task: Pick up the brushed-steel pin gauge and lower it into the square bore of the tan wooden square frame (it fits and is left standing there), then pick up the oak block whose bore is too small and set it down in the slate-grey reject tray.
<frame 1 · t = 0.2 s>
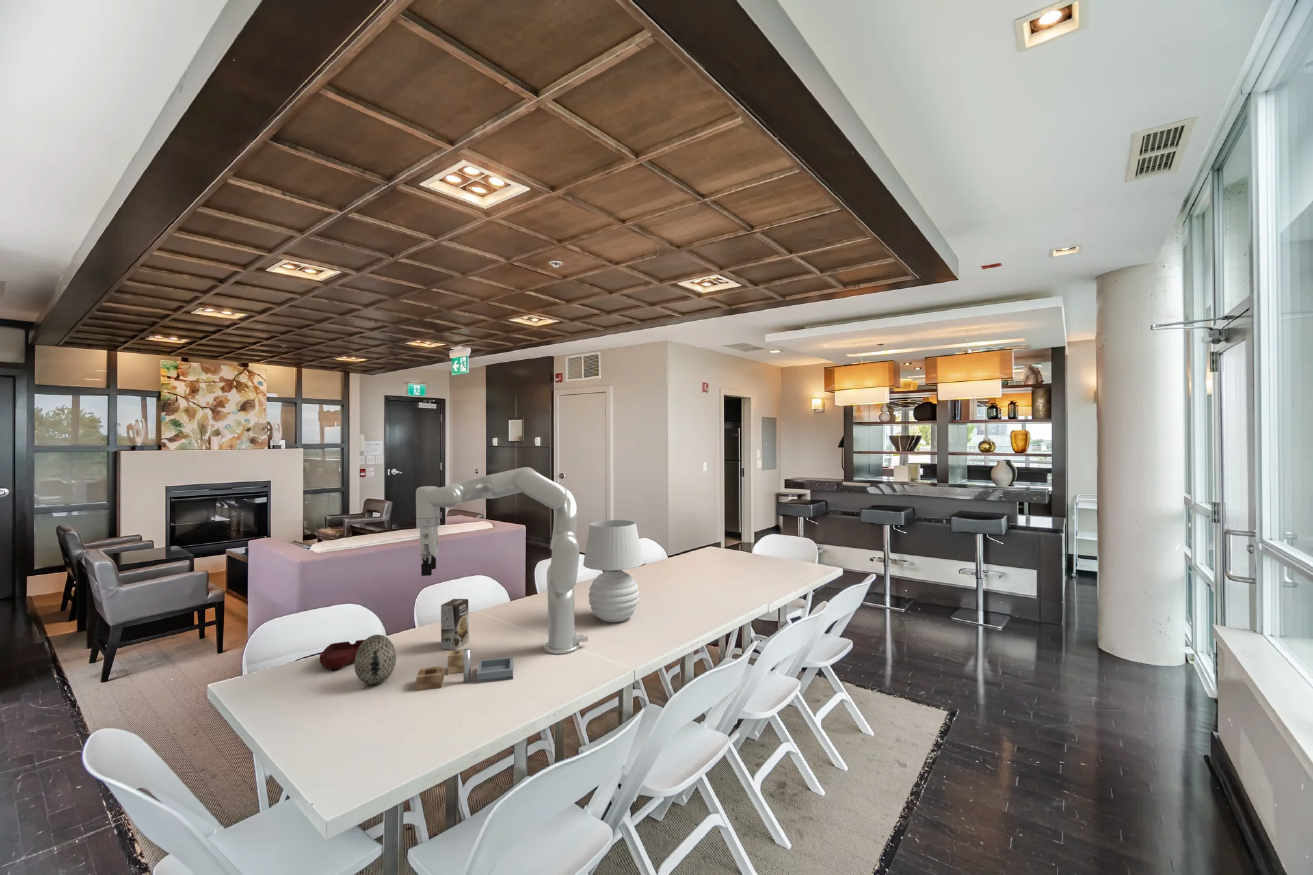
hand: (428, 572, 197), 31 cm above the table, fingers open, 9 cm apart
pin gauge: (467, 681, 181), on the table
oak block: (457, 670, 189), on the table
tan wooden square frame: (430, 684, 179), on the table
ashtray: (344, 661, 200), on the table
reject tray: (495, 674, 186), on the table
coffee box: (455, 645, 213), on the table
table lamp: (614, 618, 241), on the table
decorative egg: (375, 683, 181), on the table
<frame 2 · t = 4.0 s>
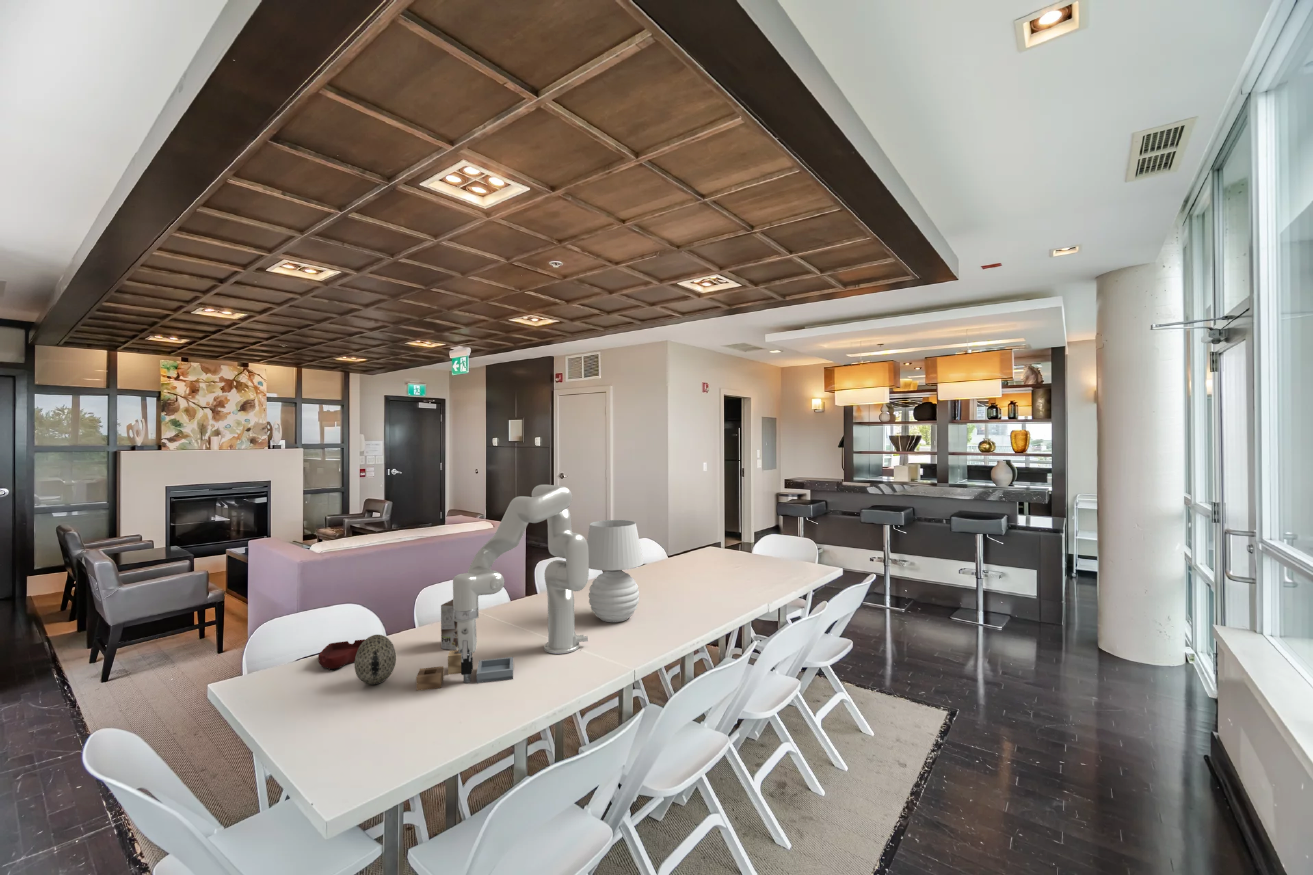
hand: (467, 671, 181), 3 cm above the table, fingers closed on pin gauge, 2 cm apart
pin gauge: (467, 681, 181), on the table, touching gripper
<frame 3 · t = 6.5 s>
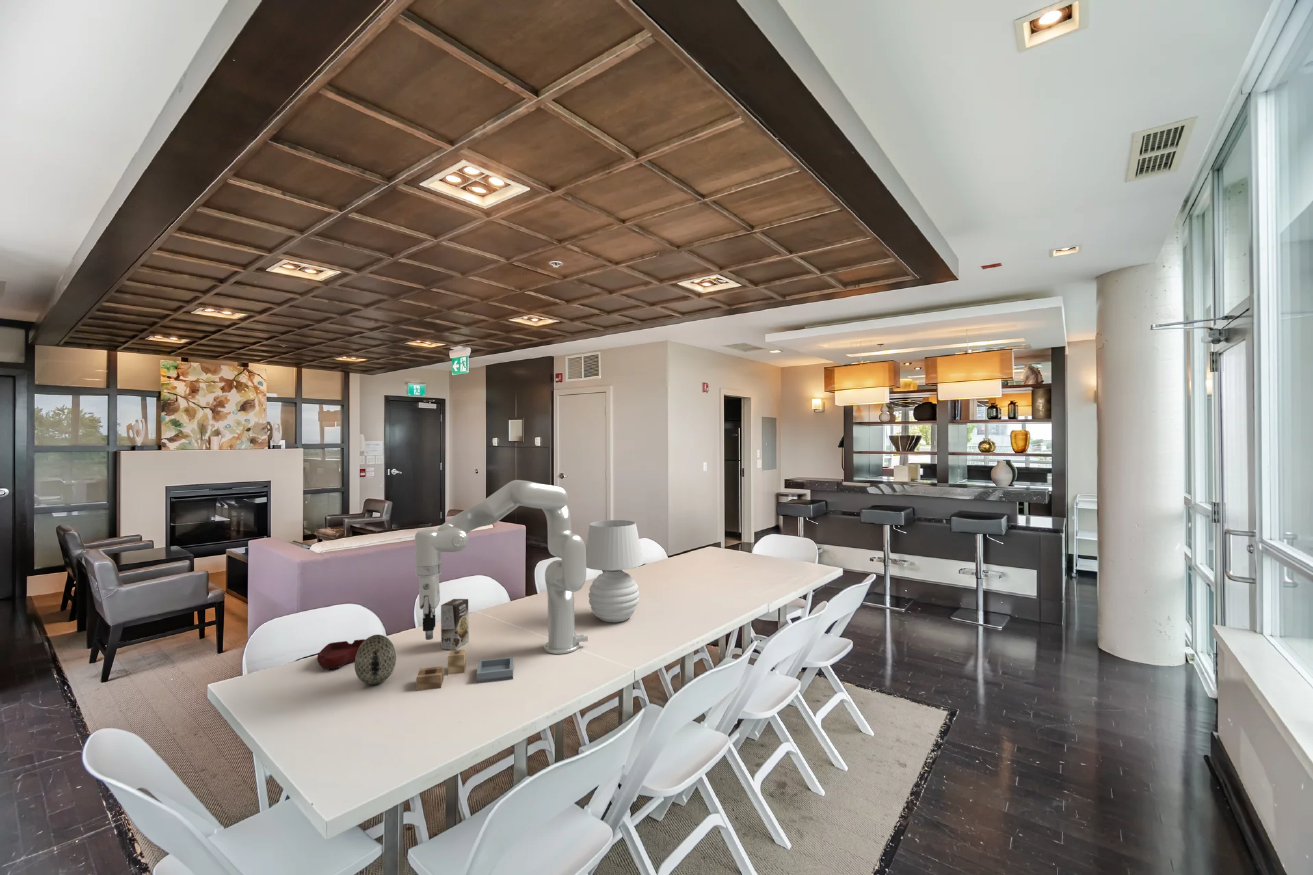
hand: (429, 628, 179), 17 cm above the table, fingers closed on pin gauge
pin gauge: (429, 638, 179), point 14 cm above the table, touching gripper
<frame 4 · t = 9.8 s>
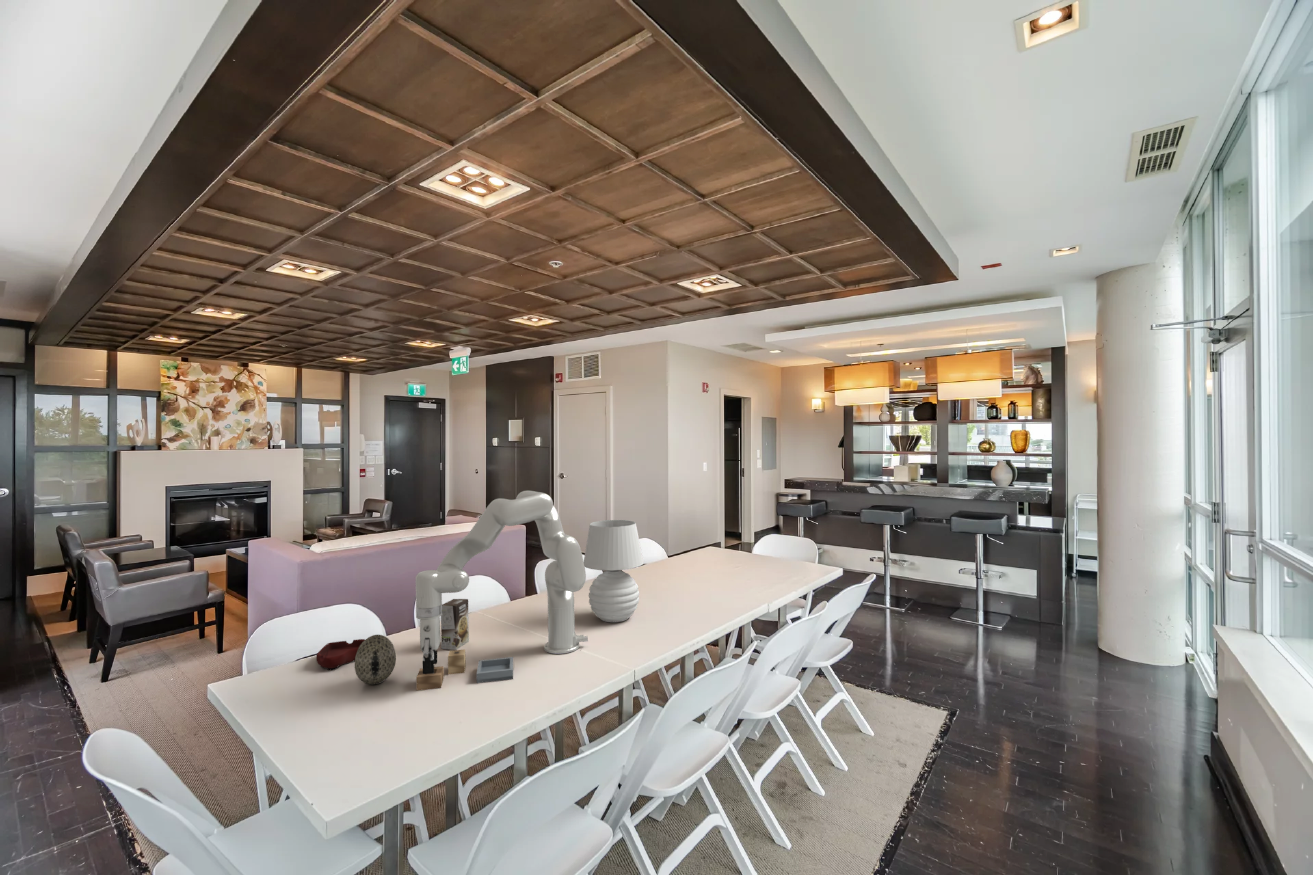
hand: (430, 667, 179), 5 cm above the table, fingers open, 6 cm apart
pin gauge: (430, 684, 179), resting in tan wooden square frame
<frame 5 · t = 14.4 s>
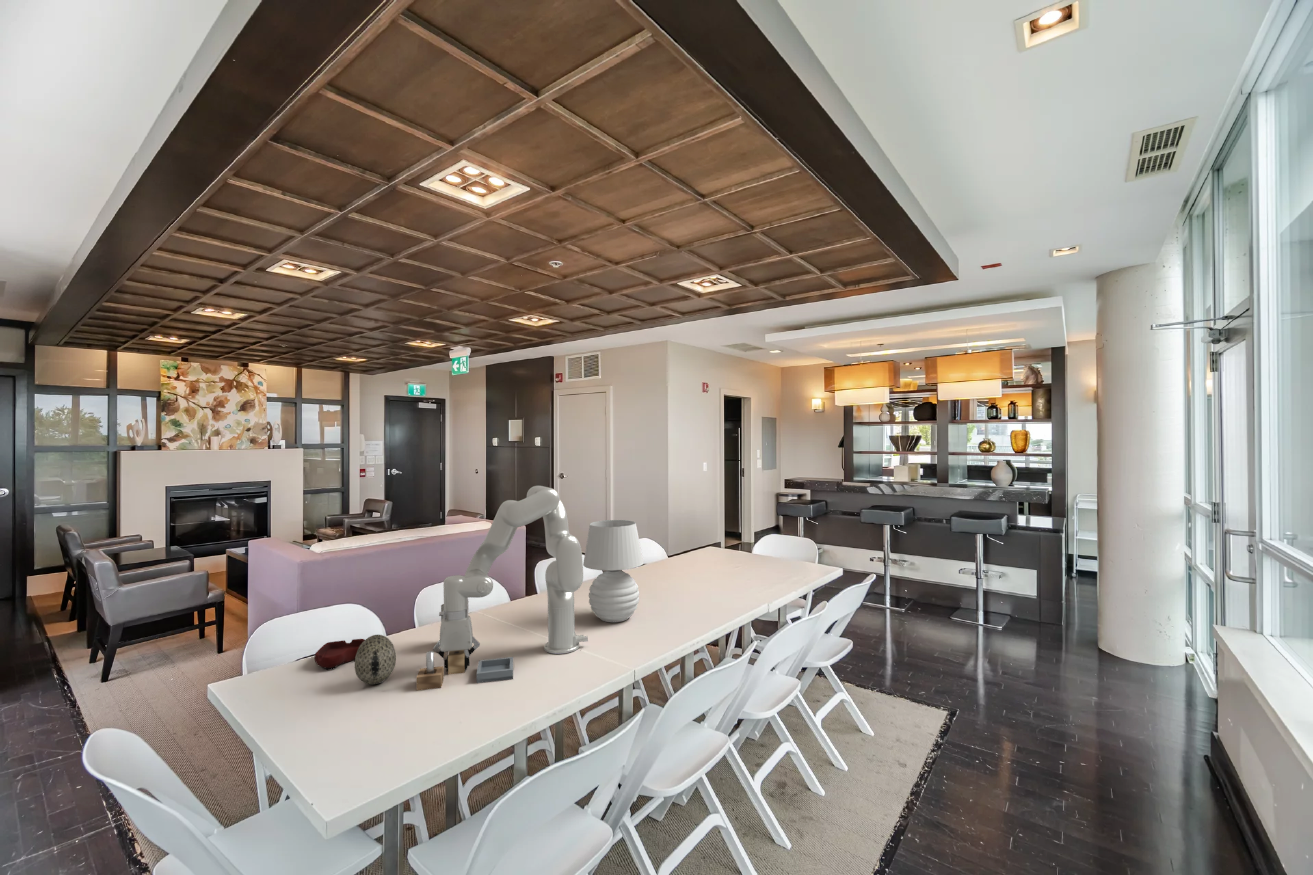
hand: (457, 668, 189), 1 cm above the table, fingers closed on oak block, 5 cm apart
oak block: (457, 670, 189), on the table, touching gripper
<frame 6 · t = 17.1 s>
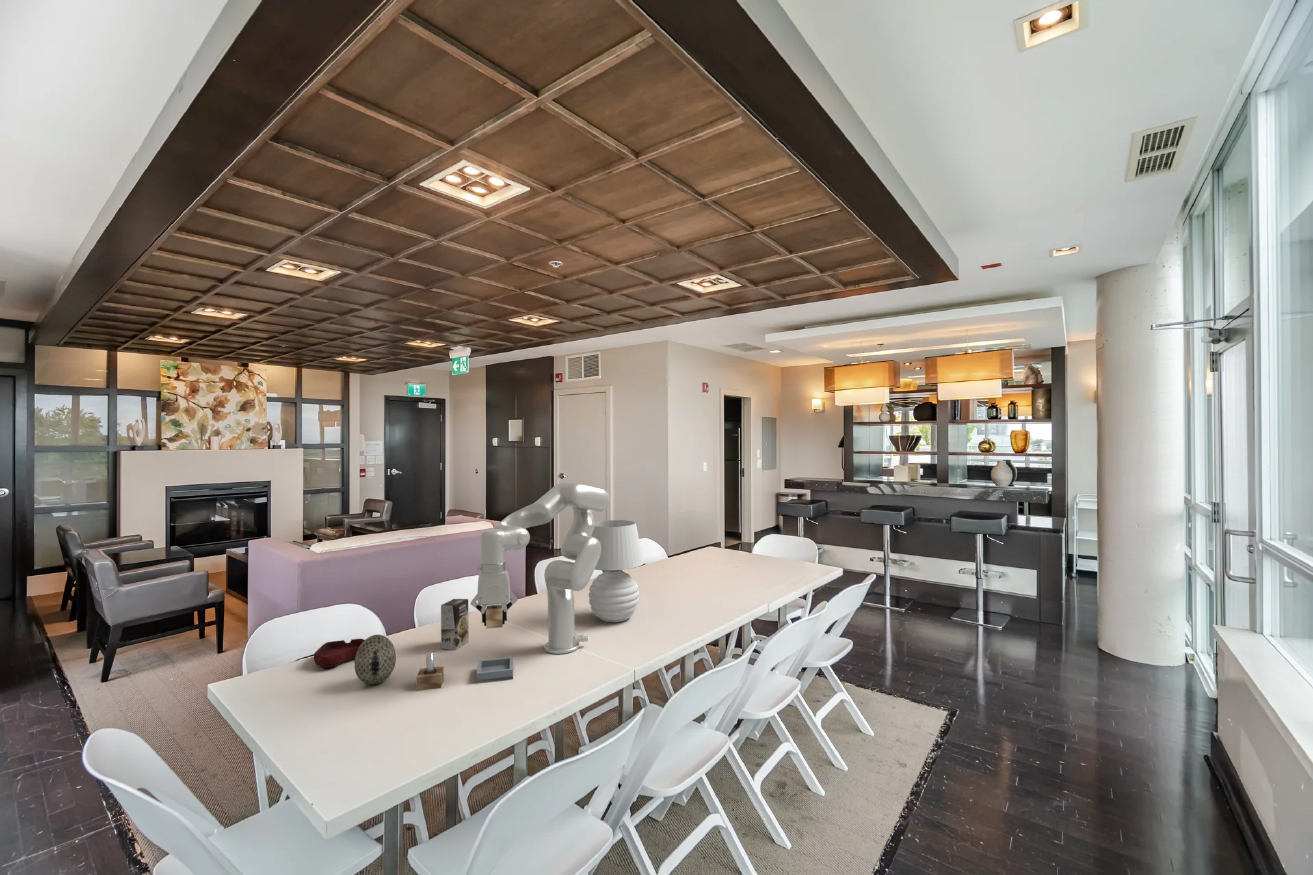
hand: (494, 623, 186), 16 cm above the table, fingers closed on oak block, 5 cm apart
oak block: (494, 625, 186), point 16 cm above the table, touching gripper
when the fingers open (3 cm above the table, at t = 19.8 s): oak block drops 1 cm, resting on reject tray.
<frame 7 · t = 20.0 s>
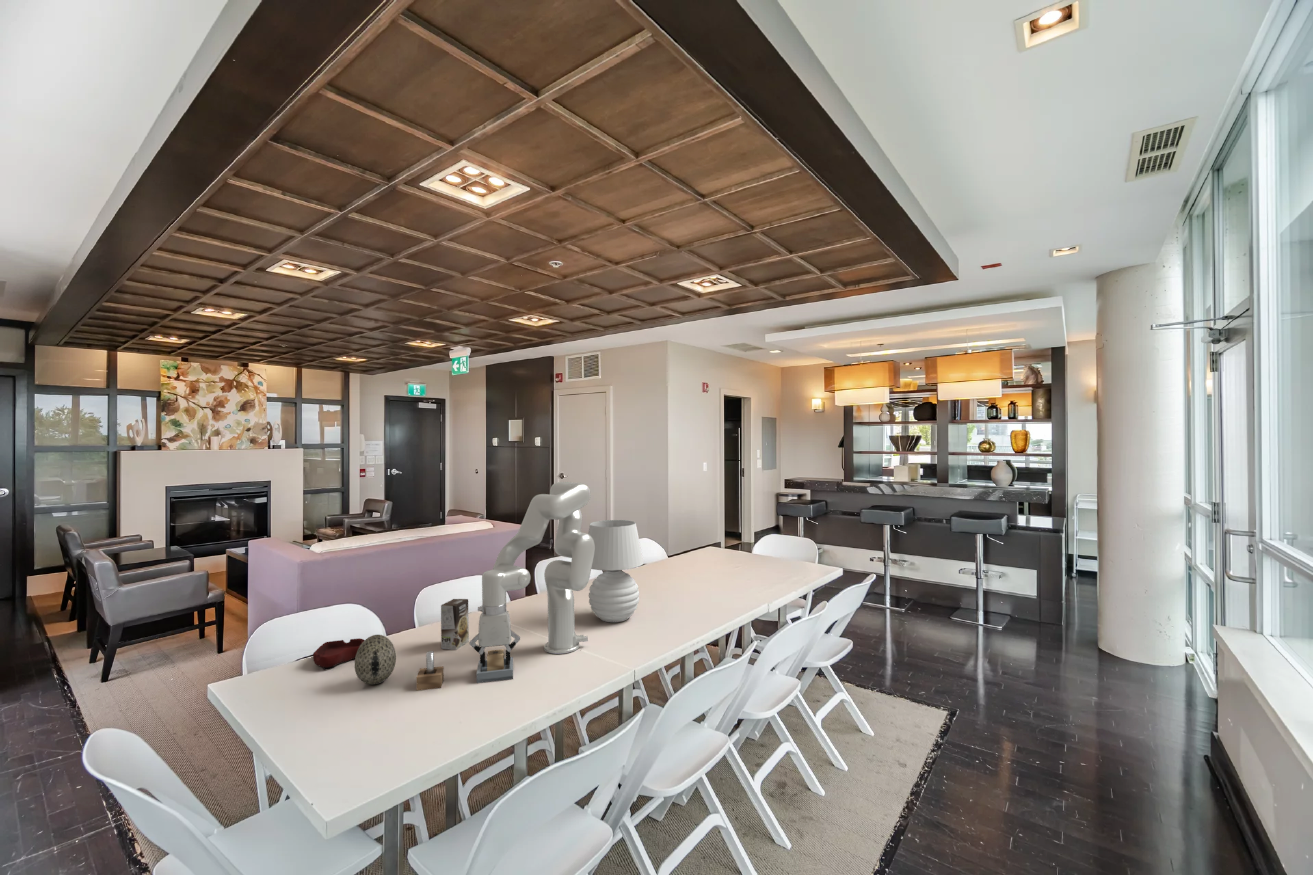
hand: (495, 663, 186), 3 cm above the table, fingers open, 6 cm apart
oak block: (495, 670, 186), point 1 cm above the table, touching reject tray
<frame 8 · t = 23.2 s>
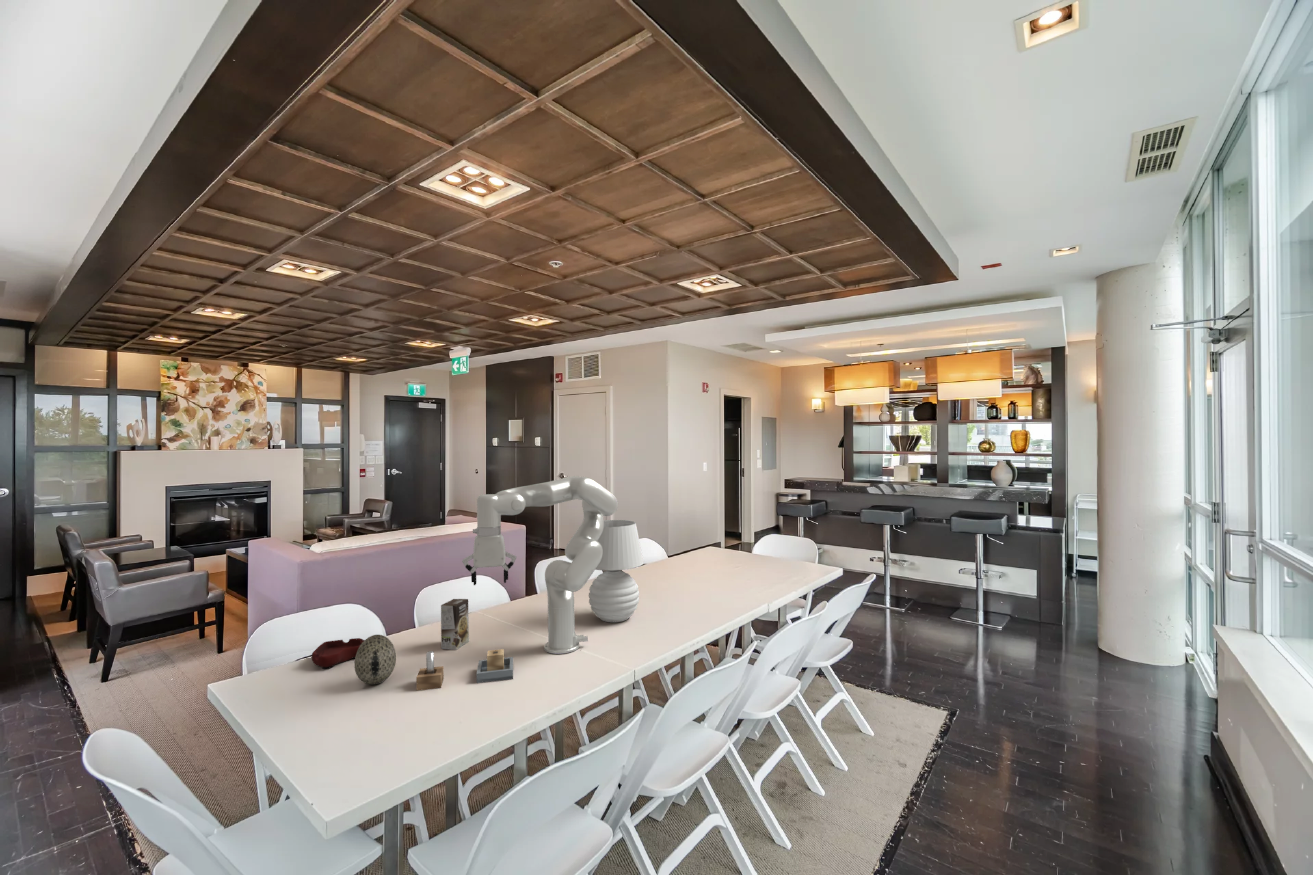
hand: (490, 583, 191), 28 cm above the table, fingers open, 9 cm apart
at the end: pin gauge 0.0 cm off-centre on the tan wooden square frame, point 0.0 cm above the tan wooden square frame's base; oak block inside the target area on the reject tray (0.1 cm from its centre), point 1.0 cm above the reject tray's base; the gripper is holding nothing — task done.
